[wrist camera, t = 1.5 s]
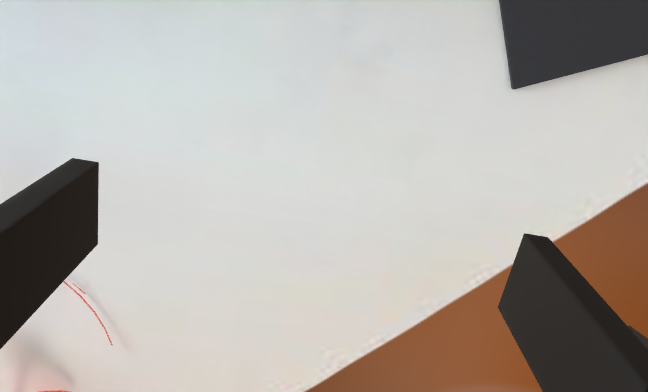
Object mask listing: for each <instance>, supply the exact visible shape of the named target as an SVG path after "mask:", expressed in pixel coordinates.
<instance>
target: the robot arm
mask: <svg viewBox="0 0 648 392" xmlns="http://www.w3.org/2000/svg"><path fill="white" fill-rule="evenodd" d="M98 167H99V162H93V161H87V160H81V159H75V158H72V159H70V160H69V161H67V162H66V163H64V164H63V165H61V166H59V167H58V168H56V169H55V170H53V171H52V172H50V173H48V174H47V175H45V176H44V177H42V178H41V179H39V180H38V181H36V182H34V183H33V184H31V185H30V186H28V187H27V188H25V189H23V190H22V191H20V192H19V193H17V194H16V195H14V196H13V197H11V198H9V199H8V200H6V201H5V202H3V203H2V204H0V349H1V348H2V347H3V346H4V345H5V344H6V343H7V341H8V340H9V339H10V338H11V337H12V336H13V335H14V334H15V333H16V332H17V331H18V330H19V328H20V327H21V326H22V325H23V324H24V323H25V322H26V321H27V320H28V319H29V318H30V317H31V316H32V314H33V313H34V312H35V311H36V310H37V309H38V308H39V307H40V306H41V305H42V304H43V303H44V301H45V300H46V299H47V298H48V297H49V296H50V295H51V294H52V293H53V292H54V291H55V290H56V289H57V287H58V286H59V285H60V284H61V283H62V282H63V281H64V280H65V279H66V278H67V277H68V276H69V274H70V273H71V272H72V271H73V270H74V269H75V268H76V267H77V266H78V265H79V264H80V263H81V262H82V260H83V259H84V258H85V257H86V256H87V255H88V254H89V253H90V252H91V251H92V250H93V249H94V247H95V246H96V245H97V244H98ZM498 308H499V310H500V312H501V314H502V316H503V318H504V320H505V321H506V324H507V325H508V327H509V329H510V331H511V333H512V335H513V337H514V339H515V340H516V342H517V344H518V346H519V348H520V350H521V352H522V353H523V355H524V357H525V359H526V361H527V363H528V365H529V366H530V368H531V370H532V372H533V374H534V376H535V378H536V380H537V382H538V383H539V385H540V387H541V389H542V391H543V392H648V339H647V338H646V337H645V336H643V335H642V334H640V333H639V332H638V331H636V330H635V329H633V328H632V327H631V326H627V325H626V324H625V323H624V322H623V321H622V320H621V319H620V318H619V316H618V315H617V314H616V313H615V312H614V311H613V310H612V309H611V307H610V306H608V304H607V303H606V302H605V301H604V300H603V298H602V297H601V296H600V295H599V294H598V293H597V292H596V291H595V290H594V288H593V287H592V286H591V285H590V284H589V283H588V282H587V281H586V279H585V278H584V277H583V276H582V275H581V274H580V273H579V272H578V271H577V269H576V268H575V267H574V266H573V265H572V264H571V263H570V262H569V261H568V259H567V258H566V257H565V256H564V255H563V254H562V253H561V251H560V250H559V249H558V248H557V247H556V246H555V245H554V244H553V243H552V241H551V240H550V239H549V238H548V237H543V236H537V235H531V234H525V233H524V235H523V238H522V241H521V244H520V247H519V249H518V252H517V255H516V258H515V261H514V263H513V266H512V269H511V272H510V275H509V277H508V280H507V283H506V286H505V289H504V291H503V294H502V297H501V300H500V303H499V305H498Z"/></svg>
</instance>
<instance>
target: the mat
mask: <svg viewBox="0 0 648 392" xmlns="http://www.w3.org/2000/svg"><path fill="white" fill-rule="evenodd" d="M499 2H500V9H501V16H502V23H503V30H504V37H505V45H506V52H507V59H508V66H509V73H510V80H511V87H512V89H517V88H521V87H525V86H528V85H532V84H536V83H540V82H544V81H548V80H551V79H555V78H559V77H563V76H567V75H571V74H574V73H578V72H582V71H586V70H590V69H594V68H597V67H601V66H605V65H609V64H613V63H616V62H620V61H624V60H628V59H632V58H636V57H639V56H643V55H647V54H648V0H499Z"/></svg>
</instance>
